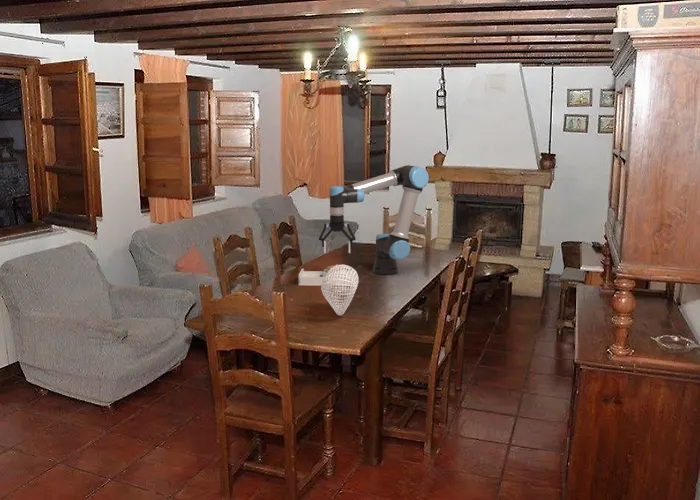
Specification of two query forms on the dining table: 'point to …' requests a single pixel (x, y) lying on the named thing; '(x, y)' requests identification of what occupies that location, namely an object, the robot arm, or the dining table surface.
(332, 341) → the dining table surface
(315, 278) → the pusher lane
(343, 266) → the lidded jar
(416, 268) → the dining table surface
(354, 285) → the heart
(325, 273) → the pusher
